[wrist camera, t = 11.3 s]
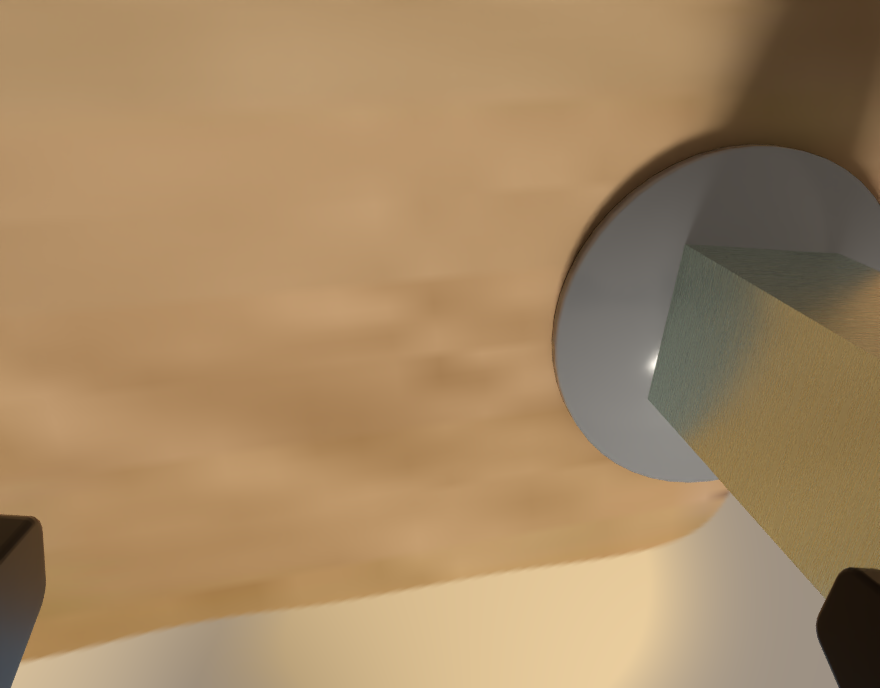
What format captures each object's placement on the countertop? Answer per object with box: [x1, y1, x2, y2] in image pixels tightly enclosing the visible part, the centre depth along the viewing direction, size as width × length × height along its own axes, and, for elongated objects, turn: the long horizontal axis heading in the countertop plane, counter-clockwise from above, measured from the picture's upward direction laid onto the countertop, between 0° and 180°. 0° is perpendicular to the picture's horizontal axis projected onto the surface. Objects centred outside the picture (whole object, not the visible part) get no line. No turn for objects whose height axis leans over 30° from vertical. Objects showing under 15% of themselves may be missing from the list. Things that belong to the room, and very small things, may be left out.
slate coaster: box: [552, 144, 880, 482], centre depth 22 cm, size 11×11×1 cm
